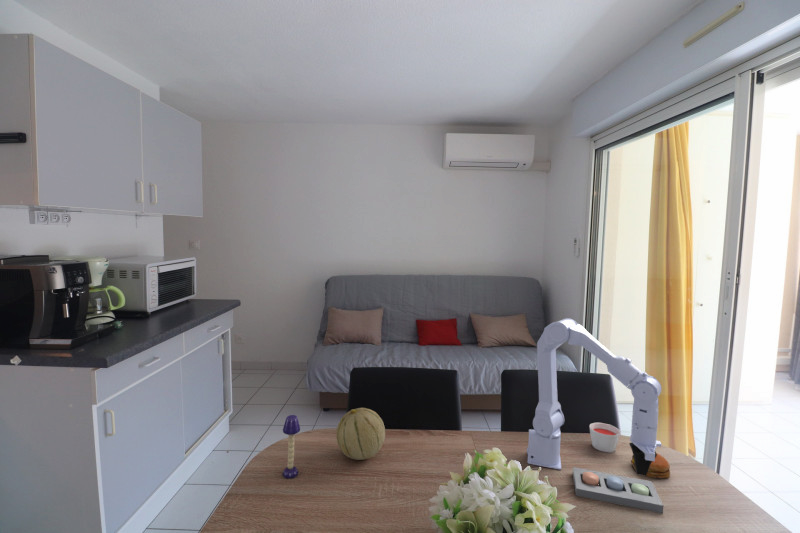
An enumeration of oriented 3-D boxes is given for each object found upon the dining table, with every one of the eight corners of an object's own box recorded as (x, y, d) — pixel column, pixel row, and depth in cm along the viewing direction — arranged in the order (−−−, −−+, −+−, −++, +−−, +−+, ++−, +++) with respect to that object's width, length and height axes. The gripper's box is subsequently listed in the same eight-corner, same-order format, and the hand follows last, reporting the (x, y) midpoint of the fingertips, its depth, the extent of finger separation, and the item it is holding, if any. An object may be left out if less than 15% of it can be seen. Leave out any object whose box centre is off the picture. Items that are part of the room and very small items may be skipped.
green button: (632, 497, 107) (633, 490, 107) (629, 489, 111) (630, 482, 111) (650, 501, 106) (650, 493, 106) (646, 492, 110) (646, 485, 110)
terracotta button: (583, 485, 111) (583, 478, 111) (581, 477, 115) (581, 470, 115) (599, 488, 110) (599, 481, 110) (597, 480, 114) (597, 473, 113)
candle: (624, 455, 130) (625, 435, 130) (596, 454, 130) (597, 434, 130) (610, 441, 139) (611, 423, 139) (583, 440, 139) (584, 422, 139)
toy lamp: (303, 472, 115) (303, 415, 114) (292, 481, 111) (292, 421, 110) (289, 468, 117) (290, 411, 116) (278, 476, 113) (278, 418, 112)
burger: (677, 477, 119) (678, 461, 118) (653, 482, 116) (654, 466, 115) (646, 459, 128) (647, 445, 128) (623, 464, 125) (624, 449, 125)
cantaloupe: (393, 460, 123) (395, 412, 122) (350, 475, 115) (351, 423, 114) (369, 440, 135) (370, 395, 134) (327, 452, 127) (328, 404, 126)
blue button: (607, 490, 109) (608, 483, 109) (605, 482, 113) (605, 475, 113) (624, 493, 108) (624, 486, 108) (621, 485, 112) (621, 478, 112)
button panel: (576, 495, 108) (576, 488, 108) (572, 473, 119) (572, 466, 119) (662, 513, 102) (663, 505, 102) (651, 488, 113) (651, 481, 112)
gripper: (670, 438, 99) (666, 492, 100) (654, 415, 113) (651, 462, 114) (637, 433, 101) (634, 486, 102) (625, 411, 115) (622, 457, 116)
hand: (641, 473), depth 108 cm, fingers closed
